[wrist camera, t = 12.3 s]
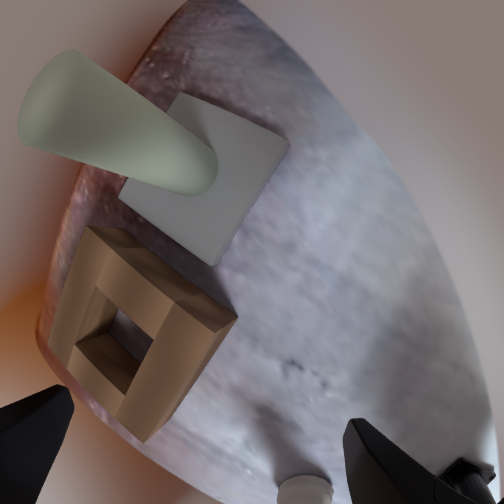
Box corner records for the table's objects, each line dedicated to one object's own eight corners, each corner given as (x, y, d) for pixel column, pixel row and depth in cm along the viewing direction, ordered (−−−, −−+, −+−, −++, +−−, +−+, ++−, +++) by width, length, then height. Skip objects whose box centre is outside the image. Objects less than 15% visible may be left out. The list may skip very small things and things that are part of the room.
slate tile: (290, 145, 18) (288, 140, 17) (216, 265, 19) (210, 266, 18) (186, 97, 20) (180, 91, 19) (125, 199, 21) (117, 197, 20)
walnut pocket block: (238, 317, 19) (214, 333, 15) (169, 419, 21) (143, 443, 17) (122, 228, 21) (86, 225, 18) (79, 334, 23) (47, 344, 19)
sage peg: (229, 171, 18) (94, 79, 6) (186, 208, 19) (26, 167, 7) (199, 133, 19) (70, 36, 7) (159, 168, 19) (13, 108, 8)
